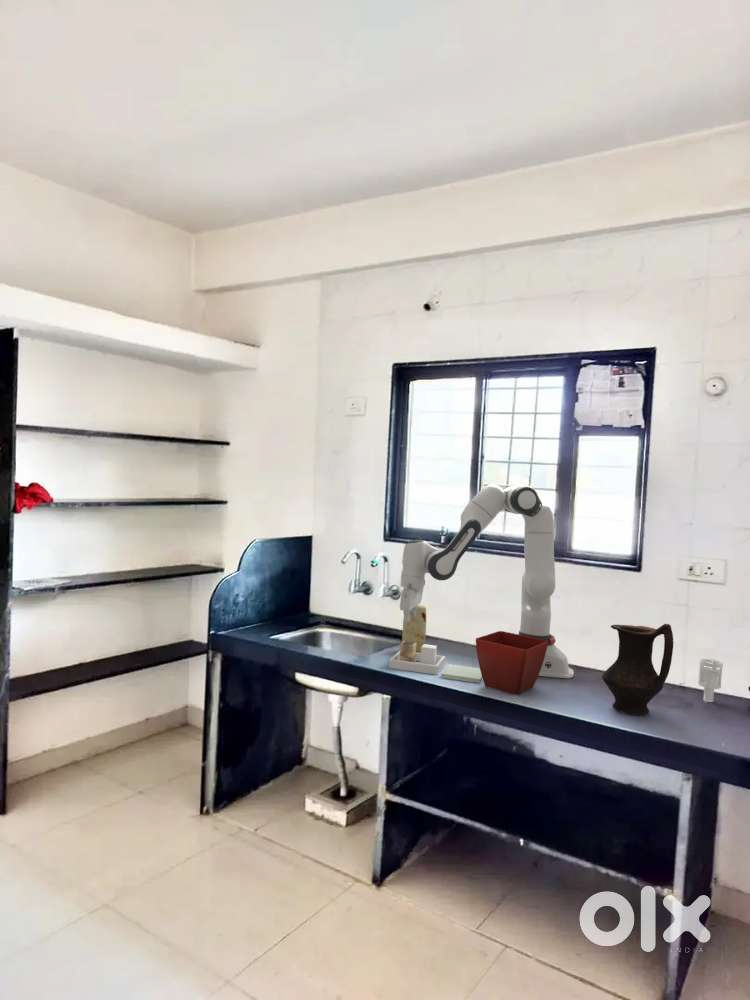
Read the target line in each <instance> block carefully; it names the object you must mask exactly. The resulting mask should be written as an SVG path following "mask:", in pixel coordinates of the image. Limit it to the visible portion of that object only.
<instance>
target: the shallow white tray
mask: <svg viewBox="0 0 750 1000" xmlns="http://www.w3.org/2000/svg"><path fill="white" fill-rule="evenodd" d="M395 653H396V654H394V655H393V656H392V657H391V658H390V659H389V661H388V669H393V670H401V671H408V672H416V673H423V674H428V675H436V676H437V675H438V674H439V673H440V672H441V670H443V667H444V666H445V665H446V657H447V656H445V655H439V654H438V655H437V657H436V665H428V664H421V663H420V660H421V653H417V652H416V659H415V663H414V662H407V661H400V650H399V651H398V652H395Z"/></svg>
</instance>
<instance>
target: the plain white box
mask: <svg viewBox="0 0 750 1000" xmlns="http://www.w3.org/2000/svg"><path fill="white" fill-rule="evenodd" d="M437 653H438V645H433V644H428V643H425V644H424V645H423V646H422V647H421V660H420V661H419V663H421V664H428V665H436V657H437Z"/></svg>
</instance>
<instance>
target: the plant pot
mask: <svg viewBox="0 0 750 1000" xmlns="http://www.w3.org/2000/svg"><path fill="white" fill-rule="evenodd" d="M518 634H519V633H512V632H507V631H505V630H504V631H503V630H497V631H495V632H491V633H488V634H486V635H482V636H479V637H476V638H475V646H476V655H477V660H478V665H479V668H480V671H481V675H482V678H483V679H482V681H483V684H484V686H485V688H488V687H489V688H488V689H492V690H495V691H499V690H500V692H503V693H508V694H511V695H515V696H519V695H521V694H523V693H525V692H528V691H529V690H531V689H533V688H534V687H535V685H536V682H537V679H538V678H539V676H538V675H539V673H540V670H541V667H542V664H543V661H544V658H545V654H546V650H547V646H548V641H546V640H542V639H537V638H533V637H528V636H523V635H518Z"/></svg>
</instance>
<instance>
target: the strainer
mask: <svg viewBox="0 0 750 1000" xmlns="http://www.w3.org/2000/svg"><path fill="white" fill-rule="evenodd" d="M723 664H724V663H723V662H722V661H719V660H717V659H715V658H701V659H700V660H699V670H698V671H699V673H698V682H697V684H698V685H699V686H701V687H704V688H703V700H704V701H705V702H704V701H703V700H702V701H703V702H704V703H707V702H713V703H714V697H715V696H714V695H715V690H718V689H721V688H722V676H723V675H722V674H723Z"/></svg>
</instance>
